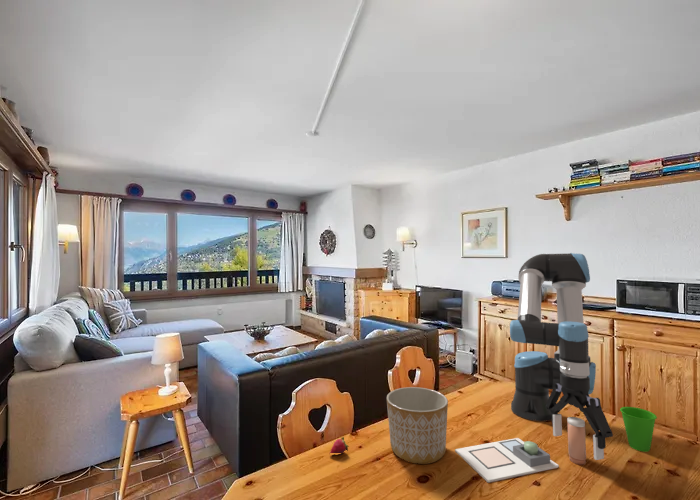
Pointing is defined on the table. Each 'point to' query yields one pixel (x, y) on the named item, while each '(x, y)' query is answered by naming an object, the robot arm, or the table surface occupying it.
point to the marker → (576, 440)
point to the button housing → (531, 460)
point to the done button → (530, 448)
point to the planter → (417, 424)
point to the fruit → (339, 446)
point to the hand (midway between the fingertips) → (576, 446)
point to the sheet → (499, 460)
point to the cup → (638, 427)
